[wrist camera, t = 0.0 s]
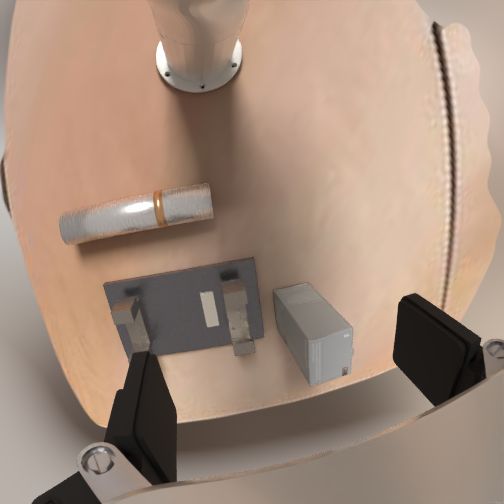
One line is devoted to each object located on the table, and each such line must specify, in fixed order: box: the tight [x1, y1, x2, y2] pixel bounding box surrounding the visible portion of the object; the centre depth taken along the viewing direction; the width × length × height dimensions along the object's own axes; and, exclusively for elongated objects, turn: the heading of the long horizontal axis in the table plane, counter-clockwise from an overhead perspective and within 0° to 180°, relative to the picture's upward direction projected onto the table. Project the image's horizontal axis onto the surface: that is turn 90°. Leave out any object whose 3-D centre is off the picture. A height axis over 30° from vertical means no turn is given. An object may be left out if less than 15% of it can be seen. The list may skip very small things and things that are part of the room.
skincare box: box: [273, 282, 354, 386], centre depth 45 cm, size 8×7×16 cm
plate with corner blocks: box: [103, 257, 264, 364], centre depth 45 cm, size 14×24×8 cm, turn 97°
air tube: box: [59, 182, 214, 245], centre depth 41 cm, size 22×5×5 cm, turn 98°
